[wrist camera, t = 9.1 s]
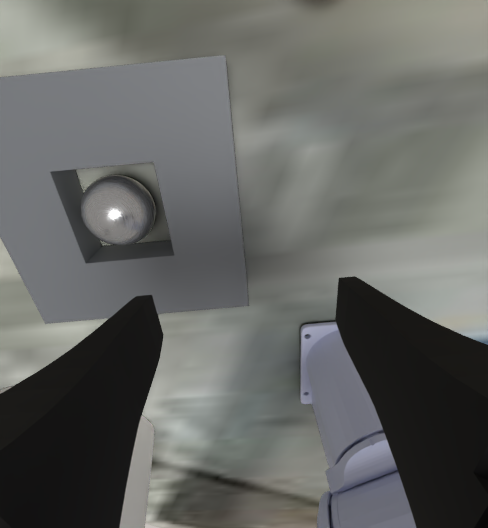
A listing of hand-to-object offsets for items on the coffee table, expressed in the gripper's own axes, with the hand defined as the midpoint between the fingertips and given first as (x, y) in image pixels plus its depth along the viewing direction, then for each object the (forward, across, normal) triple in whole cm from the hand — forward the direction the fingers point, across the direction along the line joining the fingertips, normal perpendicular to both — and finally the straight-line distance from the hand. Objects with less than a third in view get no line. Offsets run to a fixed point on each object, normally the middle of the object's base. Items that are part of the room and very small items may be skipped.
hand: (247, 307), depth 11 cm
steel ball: (+7, +7, -2) cm, 10 cm away
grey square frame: (+9, +7, -2) cm, 12 cm away
